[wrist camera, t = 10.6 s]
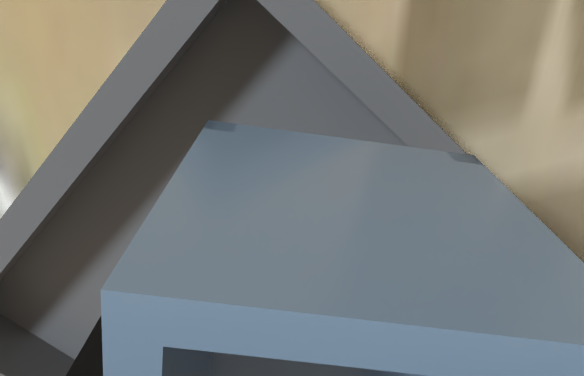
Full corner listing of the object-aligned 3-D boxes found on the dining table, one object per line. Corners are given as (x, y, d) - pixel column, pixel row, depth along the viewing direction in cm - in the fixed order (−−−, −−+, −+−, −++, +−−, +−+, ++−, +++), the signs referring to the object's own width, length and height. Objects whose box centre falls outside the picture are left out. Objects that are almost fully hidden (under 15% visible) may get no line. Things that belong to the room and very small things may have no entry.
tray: (598, 286, 19) (648, 336, 17) (297, 499, 25) (298, 564, 22) (242, -71, 14) (230, -84, 12) (-40, 292, 20) (-94, 342, 17)
